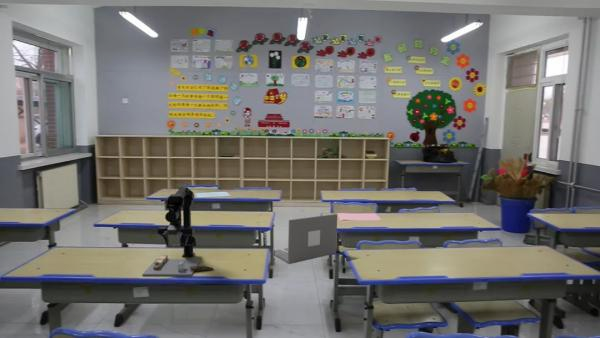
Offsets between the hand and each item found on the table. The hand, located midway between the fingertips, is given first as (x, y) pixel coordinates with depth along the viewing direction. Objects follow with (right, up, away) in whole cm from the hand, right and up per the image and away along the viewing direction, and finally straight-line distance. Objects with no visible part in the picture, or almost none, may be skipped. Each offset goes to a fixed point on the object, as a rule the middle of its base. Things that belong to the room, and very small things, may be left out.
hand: (176, 246), depth 226 cm
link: (-13, -12, +12) cm, 22 cm away
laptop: (+69, -13, +38) cm, 79 cm away
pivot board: (-4, -14, +9) cm, 17 cm away
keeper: (+2, -14, +4) cm, 15 cm away
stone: (+16, -15, +2) cm, 22 cm away
